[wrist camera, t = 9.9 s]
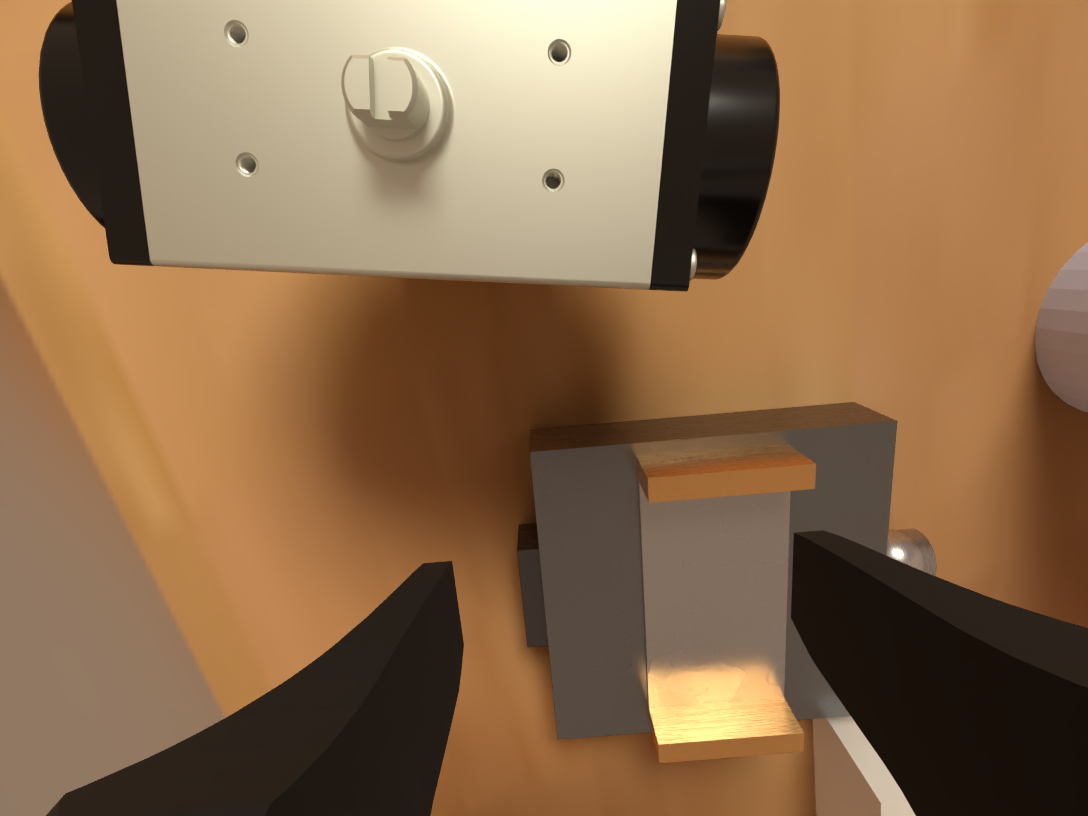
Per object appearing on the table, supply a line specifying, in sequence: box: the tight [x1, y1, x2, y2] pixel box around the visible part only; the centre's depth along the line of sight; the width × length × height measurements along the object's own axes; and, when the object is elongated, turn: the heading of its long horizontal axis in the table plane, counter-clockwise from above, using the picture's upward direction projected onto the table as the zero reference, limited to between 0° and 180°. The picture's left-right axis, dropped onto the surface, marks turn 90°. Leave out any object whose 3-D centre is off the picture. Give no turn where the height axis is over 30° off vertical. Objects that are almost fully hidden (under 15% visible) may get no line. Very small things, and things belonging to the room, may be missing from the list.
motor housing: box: [517, 402, 937, 763], centre depth 20 cm, size 15×12×4 cm
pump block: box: [813, 716, 916, 816], centre depth 22 cm, size 4×7×5 cm, turn 9°
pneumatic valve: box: [39, 0, 780, 291], centre depth 12 cm, size 6×12×12 cm, turn 87°
